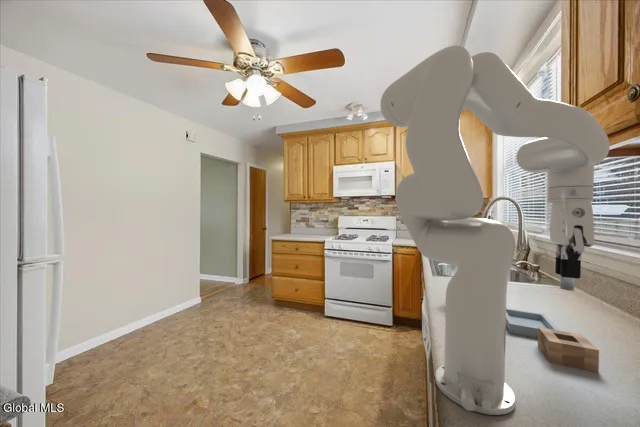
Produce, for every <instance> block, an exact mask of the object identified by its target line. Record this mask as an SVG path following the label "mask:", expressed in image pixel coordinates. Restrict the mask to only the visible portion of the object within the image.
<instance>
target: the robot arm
mask: <svg viewBox="0 0 640 427" xmlns="http://www.w3.org/2000/svg"><path fill="white" fill-rule="evenodd" d="M466 110H467V111H470V112H471V114H473V115H474V116H475V117H476V118H477V119H478V120H480V122H481V123H483V124H484V126H485V127H487V128H488V129H489V130H490V131H491V132H493V133H494V134H496V135H498V136H503V137H512V138H513V137H514V138H537V139H534V140H530V141H527V142H525V143H524V144H523V145H521V146H520V147H519V148H518V150H517V152H516V162H517V165H518V166H519V167H520V168H521V169H522V170H523V171H525V172H528V173H534V174H539V173H547V203H550V204H551V210H550V224H549V239H550V241H551V243H554V245H555V267H554V268H555V271H554V272H555V274H556V275H559V276H560V275H561V276H562V277H567V278H575V279H576V280H577V279H581V272H582V271H581V268H582V254H583V252H585V247H586V248H591V247H593V246H594V245H595V224H594V213H593V212H594V211H593V206H592V203H593V202H594V180H595V179H594V178H595V166H596V165H598V164H600V163H602V162H603V161H605V159H606V158H607V156H608V154H609V152H610V146H611V144H610V140H609V136H608V135H607V133H606V131H605V129H604V128H603V127H602V125H601V124H600V123H599V121H598V120H597V119H596V118H595V117H594V115H592V114H591V113H590V112H589V111H587V110H586V109H584V108H582V107H579V106H577V105H576V106H575V105H573V104H570V103H565V102H560V101H558V100H557V101H555V100H552V99H543V98H538V97H536V96H535V95H534V94H533V93H532V92H531V91H530V89H529V88H528V87H527V86H526V85H525V84H524V83H523V82H522V81H521V79H520V78H519V77H518V76H517V74H515V72H514V71H513V70H512V69H511V68H510V67H509V65H507V64H506V63H505V61H504V60H503V59H502V58H501V57H500V56H499V55H497V54H496V53H495V52H489V51H483V52H478V53H477V54H474V55H472V56H471V54H470V52H469V51H468V50H467V49H466V48H465V47H463V46H461V45H450V46H447V47H446V46H445V48H442V49H440V50H438V51H436V52H435V53H432V54H431V55H430V56H428V57H426V58H425V59H424V60H422V61H421V62H420V63H418V64H416V65H415V66H414V67H412V68H411V69H410V70H409V71H407V72H405V73H404V74H403V75H401V77H399V78H398V79H395V81H393V82H392V83H390V84H389V86H387V88H386V89H385V90H384V92H383V93H382V95H381V98H380V111H381V114H382V117H383V118H384V119H385V121H386V122H387V123H389V124H390V125H392V126H395V127H399V128H405V127H406V136H405V150H406V155H407V158H408V160H409V162H410V166H411V167H412V170H413V173H411V174H408V175H406V176H404V178H402V179H401V180H400V182H399V183H398V185H397V187H396V191H395V201H396V204H395V205H396V207H397V210H398V213H399V215H400V217H401V219H402V222H403V223H404V225H405V227H406V229H407V231H408V233H409V235H410V237H411V238H412V240H413V243H414V244H415V247H416V248H417V249H418V251H419V252H420V254H421V255H422V256H424V257H425V258H426V259H428V260H431V261H433V262H437V263H441V264H446V265H450V266H452V267H453V266H454V267H456V268H457V269H456V271H455V273H454V275H452V277H451V278H450V280H449V281H448V283H447V286H446V288H445V316H444V317H445V319H444V322H445V323H444V356H443V357H444V358H443V359H444V361H443V362H444V364H442V365H440V366H439V367H438V368H436V370H435V375H434V376H435V380H434V382H435V384H436V385H437V387H438V389H439V390H440V391H441V392H442V394H444V396H446V397H447V398H448V399H450V400H451V401H453V402H454V403H456V404H457V405H460V406H461V407H463V408H464V409H465V410H466V411H467V412H476V413H479V414H485V415H488V416H489V415H492V416H500V415H501V416H502V415H506V414H509V413H511V412H512V411H513V410H514V409H515V407H516V394H514V391H513V390H512V388H511V387H510V386H509V385H508V384H507V383H506V382H505V376H506V375H505V374H506V373H505V372H506V371H505V370H506V336H507V333H506V332H507V331H506V330H507V327H506V308H507V295H508V294H507V293H508V283H509V276H510V272H511V266H512V264H513V259H514V255H515V251H516V239H515V236H514V233H513V232H512V231H511V229H510V228H509V227H508V226H507V225H505V224H503V223H502V222H499V221H498V220H493V219H490V218H481V217H474V216H476V215H477V214H479V213H480V212H481V210H482V208H483V206H484V201H485V200H484V199H485V198H484V193H483V190H482V187H481V184H480V182H479V178H478V176H477V174H476V171H475V170H474V167H473V165H472V161H471V159H470V157H469V154H468V152H467V150H466V147H465V144H464V142H463V138H462V136H461V130H460V129H461V128H460V127H461V116H462V112H463V111H466ZM561 245H563V259H561ZM569 245H572V246H569ZM568 248H571V249H569V251H568ZM560 269H561V273H560Z"/></svg>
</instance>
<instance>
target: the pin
mask: <svg viewBox="0 0 640 427" xmlns="http://www.w3.org/2000/svg"><path fill="white" fill-rule="evenodd" d="M569 246H572V245H569ZM569 249H571V248H568V251H569ZM561 259H563V245H561ZM560 273H561V269H560ZM559 276H560V278H559V279H560V281H559V289H561V290H564V291H571V292H572V291H573V292H574V291H575V284H576V283H575V282H576V281H575V280H576V278H567V277H562V276H561V275H560V274H559Z"/></svg>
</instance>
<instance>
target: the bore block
mask: <svg viewBox="0 0 640 427" xmlns="http://www.w3.org/2000/svg"><path fill="white" fill-rule="evenodd" d="M537 346H538V348H539V349H540V351H541V352H542V354H543V355H544V356H545V358H546V359H547V361H548V362H549V363H553V364H559V365H563V366H566V367H567V366H568V367H571V368H577V369H581V370H586V371H590V372H591V371H592V372H596V373H599V369H600V366H599V365H600V364H599V363H600V361H599V360H600V350H599V349H598V348H597V347H596V346H595V345H594V344H593V343H591V342H590V341H589V339H588V338H586V337H585V336H584V335H583V334H581V333H575V332H571V331H562V330H560V331H558V330H552V329H547V328H541V327H538V338H537Z"/></svg>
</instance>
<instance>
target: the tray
mask: <svg viewBox="0 0 640 427" xmlns="http://www.w3.org/2000/svg"><path fill="white" fill-rule="evenodd" d="M538 327H541V328H547V329H552V330H558V331H561V330H560V329H559V328H558V327H557V326H556V325H555V324H554V322H552V321H551V320H550V319H549V317H547V316H546V315H545V314H544V313H540V312H539V313H538V312H533V311H527V310H526V311H525V310H519V309H512V308H507V307H506V330H508V333H509V334H516V335H519V336H520V335H521V336H526V337H531V338H536V339H538Z"/></svg>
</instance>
